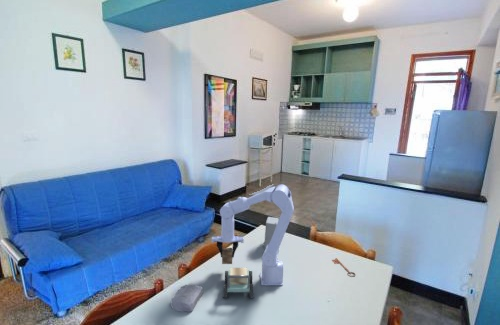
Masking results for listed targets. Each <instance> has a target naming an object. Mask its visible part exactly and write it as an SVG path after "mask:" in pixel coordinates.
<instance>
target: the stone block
mask: <svg viewBox="0 0 500 325" xmlns="http://www.w3.org/2000/svg"><path fill="white" fill-rule="evenodd" d="M203 292H204V290H203V287H202V286H200V285H195V284H191V283H190V284H185V285H182V286H180V287H179V289H178V290H177V291H176V293H175V294H174V295H173V297H172V299H171V301H170V305H171V308H172V310H175V311H177V312H185V313H186V312H189V313H192V312H193V311H194V310H195V308H196V306H197V304H198V303H199V300H200V298H201V296H202V294H203Z"/></svg>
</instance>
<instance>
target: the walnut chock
mask: <svg viewBox="0 0 500 325" xmlns="http://www.w3.org/2000/svg"><path fill="white" fill-rule="evenodd" d="M232 252H233V247H223V250H222V257H221V264H222V265H233V257H232Z"/></svg>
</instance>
